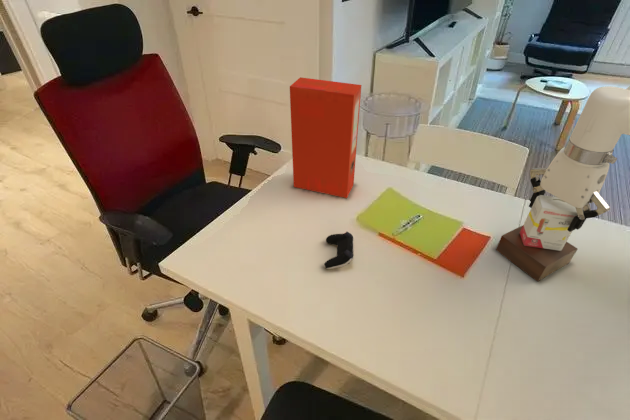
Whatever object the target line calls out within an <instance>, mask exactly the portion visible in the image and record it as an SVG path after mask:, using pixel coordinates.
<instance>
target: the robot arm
mask: <svg viewBox="0 0 630 420" xmlns="http://www.w3.org/2000/svg"><path fill="white" fill-rule="evenodd" d="M622 135H627V136H630V85H629V86H627V87H626V88H623V87H618V86H609V85H608V86H607V85H606V86H600V87H597V88H595V89H594V90H593V91H591V92H590V94H589V96H588V98H587V100H586V102H585V105H584V106H583V108H582V110H581V113H580V115H579V117H578V119H577V122H576V123H575V126H574V128H573V130H572V132H571V134H570V137H569V138H568V140H567V142H566V144H565V146H563V148H560V149H559V151H558V153H557V154H556V155H555V156H554V158H553V159H552V161H551V162H550V164H549V165H548V166H547V167H533V168H531V169H530V170H529V174H530V175H529V176H530V184H531V187H532V188H531V191H532V194H531V197H530V199H529V204H528V208H530V209H531V208H532V206H533V204H534V202H535V199H536V197H537V196H540V195H544V196H545V194H546V192H547V193H548V194H550V195H551V196H553V197H557V198H559V199H561V200H563V201H565V202H566V203H568V204H570V205H572V206H574V207H576V211H577V214H578V215H577V216H575V217H574V218H573V220H572V222H571V224H570V225H569V227H568V229H567V230H568V231H569V232H571V231H572V232H574V231H575V230H577V231H578V230H580V229H581V228H582V227H583V225H584V224H585V222H586V221H587V219H591V218H593V219H594V218H597V217H599V216H600V215H603V214H605V213H607V212H609V211H610V210H611V207H610V206H609V204H608V203H607V202H606V200H605V199H604V198H603V197H602V196H601V195H600V192H601V190H602V188H603V186H604V184H605V181H606V178H607V176H608V173H609V170H610V166H611V165H614V164H615V163H616V162H617V161H618V157H616V156H614V155H613V152H615V150H614V149H615V147H616V145H617V143H618V142H619V140H620V138H621V136H622ZM610 164H611V165H610ZM542 175H543V176H542ZM540 176H542V177H541V178H540ZM590 204H594V205H595V206H596V209H592V208H591V205H590Z"/></svg>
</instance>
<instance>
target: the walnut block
mask: <svg viewBox="0 0 630 420" xmlns="http://www.w3.org/2000/svg"><path fill="white" fill-rule="evenodd" d="M522 227H523V225H521V226H519V227H516V228H515V229H512V230H511V231H508V232H506V233H503V234H502V235H501V237H500V239H499V241H498V243H497V246H496V248H495V251H497V253H499V254H500V255H502V256H503V257H504V258H506V259H507V260H508V261H510V262H511V263H513V264H514V265H515V266H516V267H517V268H519V269H520V270H522V271H523V272H524V273H525V274H527V275H528V276H529V277H531V278H532V279H533V280H535V281H536V282H540V281H541V280H543V279H544V278H546V277H548V276H549V275H551V274H553V273H556V271H558V270H559V269H562V268H563V267H565V266H567V265H569V264H570V262H571V261H572V259H573V257H574V256H575V254H576V252H577V251H578V247H576V246H574V245H573V244H571V243H570V242H568V241H567V242H566V243H565V245H564V247H563V249H562V250H561V251H558V250H551V249H545V248H538V247H531V246H524V245H523V242H522V239H521V235H520V231H521V229H522Z"/></svg>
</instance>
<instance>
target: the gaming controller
mask: <svg viewBox="0 0 630 420" xmlns="http://www.w3.org/2000/svg"><path fill="white" fill-rule="evenodd" d="M354 241H355V240H354V236H353V234H352V233H351V232H349V231H345V232H344V233H333V234H330V235H328V236H327V237H326V238H325V242H326V244H328V245H331V246H336V255H335V256H334V257H331V258H329V259H328V260H327V261H325V262H324V263H323V264H324V265H323V266H324V267H325V269H326V270H332V269H338V268H342V267H344V266H347V265H349V264H350V263H351V262H352V261H353V260H354V257H355V255H354V251H355V250H354V248H355V247H354V246H355V245H354Z"/></svg>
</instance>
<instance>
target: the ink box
mask: <svg viewBox="0 0 630 420" xmlns="http://www.w3.org/2000/svg"><path fill="white" fill-rule="evenodd" d="M577 215H578V214H577V211H576V207H574V206H572V205H570V204H568V203H566V202H565V201H563V200H561V199H559V198H557V197H556V196H552V195H551V196H550V195H545V194H544V195H540V196H537V197H536V199H535V202H534V204H533V206H532V208H530V210H529V212H528V214H527V216H526V218H525V221H524V222H523V225H522V226H523V227H522V229H521V231H520V235H521V239H522V242H523V245H524V246H531V247H538V248H545V249H551V250H558V251H561V250H562V249H563V247H564V245H565V243H566V242H568V240H569V238H570V237H571V234H572V233H573V231H571V232H569V231H568V230H567V229H568V227H569V225H570V224H571V222H572V220H573V218H574V217H575V216H577Z"/></svg>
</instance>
